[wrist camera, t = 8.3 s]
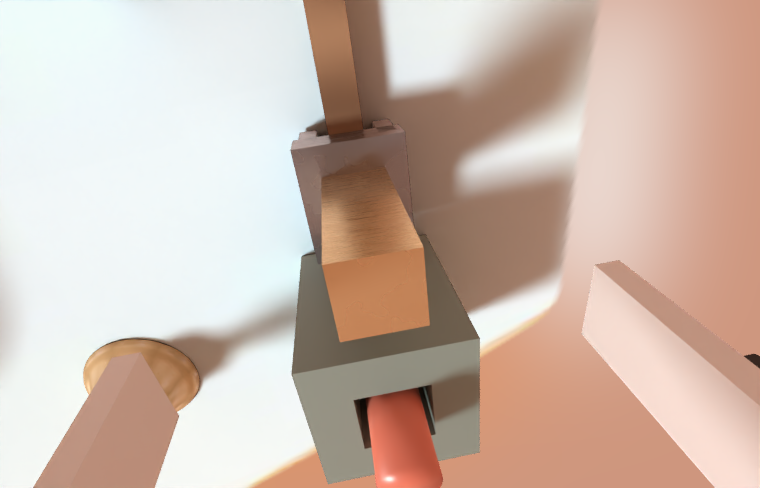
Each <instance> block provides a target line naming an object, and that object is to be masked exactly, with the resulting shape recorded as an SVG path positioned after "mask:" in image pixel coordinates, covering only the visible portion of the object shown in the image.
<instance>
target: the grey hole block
mask: <svg viewBox="0 0 760 488" xmlns="http://www.w3.org/2000/svg"><path fill="white" fill-rule="evenodd" d="M418 237H419V239H420V241H421V243H422V245H423V247H424V258H425V271H426V283H427V295H428V308H429V320H430V325H429V326H424V327H419V328H414V329H408V330H403V331H398V332H392V333H387V334H382V335H377V336H371V337H366V338H361V339H355V340H350V341H345V342H340V340H339V336H338V332H337V328H336V323H335V319H334V315H333V311H332V306H331V302H330V298H329V294H328V289H327V285H326V281H325V276H324V272H323V268H322V264H318V262H317V258H316V254H312V255H306V256H302V258H301V270H300V282H299V293H298V305H297V317H296V329H295V340H294V352H293V364H292V377H293V380H294V383H295V386H296V389H297V392H298V395H299V398H300V401H301V404H302V407H303V410H304V413H305V416H306V419H307V422H308V425H309V428H310V431H311V434H312V437H313V440H314V443H315V446H316V449H317V452H318V455H319V458H320V461H321V464H322V467H323V470H324V473H325V476H326V479H327V482H328V484H332V483H336V482H341V481H346V480H351V479H355V478H360V477H365V476H370V475H375V471H374V463H373V455H372V446H371V438H370V430H369V422H368V414H367V406H366V398H367V397H372V396H377V395H382V394H387V393H392V392H397V391H402V390H407V389H412V388H417V387H418V390H419V393H420V397H421V401H422V404H423V408H424V412H425V415H426V419H427V422H428V426H429V430H430V433H431V437H432V441H433V444H434V448H435V452H436V455H437V459H438V461H441V460H446V459H450V458H456V457H460V456H465V455H470V454H475V453H479V452H480V447H479V446H480V443H479V442H480V437H479V435H480V378H479V377H480V338H479V336H478V334H477V332H476V330H475V328H474V327H473V325H472V323H471V321H470V319H469V317H468V315H467V313H466V311H465V309H464V307H463V305H462V304H461V302H460V300H459V298H458V296H457V294H456V292H455V290H454V288H453V286H452V284H451V282H450V281H449V279H448V277H447V275H446V273H445V271H444V269H443V267H442V265H441V263H440V261H439V260H438V258H437V256H436V254H435V252H434V250H433V248H432V246H431V244H430V242H429V240H428V238H427V237H426V235H420V236H418Z"/></svg>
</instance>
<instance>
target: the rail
mask: <svg viewBox="0 0 760 488" xmlns="http://www.w3.org/2000/svg"><path fill="white" fill-rule="evenodd" d="M303 2H304V8H305V13H306V18H307V24H308V29H309V34H310V40H311V45H312V50H313V56H314V61H315V66H316V71H317V77H318V82H319V87H320V93H321V98H322V103H323V109H324V114H325V119H326V125H327V130H328V135H332V134H339V133H345V132H351V131H358V130H363V123H362V116H361V109H360V102H359V95H358V88H357V81H356V74H355V67H354V60H353V54H352V47H351V40H350V33H349V26H348V19H347V12H346V5H345V0H303Z"/></svg>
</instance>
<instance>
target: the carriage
mask: <svg viewBox="0 0 760 488" xmlns="http://www.w3.org/2000/svg"><path fill="white" fill-rule="evenodd" d="M372 125H373V128H370V129H364V130H358V131H351V132H345V133H339V134H332V135H326V136H320V137H318V136H317V131H316V130H314V131H308V132H301V133H300V134H299V139H298V140H294V141H293V142H292V146H291V154H292V158H293V162H294V167H295V171H296V175H297V179H298V183H299V187H300V192H301V196H302V200H303V204H304V208H305V212H306V217H307V221H308V225H309V229H310V233H311V237H312V242H313V246H314V250H315V254H316V258H317V262H318V264H322V268H323V272H324V276H325V281H326V285H327V289H328V294H329V298H330V302H331V306H332V311H333V315H334V319H335V323H336V328H337V332H338V336H339V340H340V342H345V341H350V340H355V339H361V338H366V337H371V336H377V335H382V334H387V333H392V332H398V331H403V330H408V329H414V328H419V327H424V326H429V325H430V320H429V308H428V295H427V283H426V271H425V258H424V247H423V245H422V243H421V241H420V239H419V237H418V234H417V232H416V230H415V228H414V225H413V214H412V203H411V192H410V181H409V171H408V160H407V149H406V138H405V131H404V130H403V129H402V128H401V127H400V125H399V124H395V125H393V124H392V123H391V122H390V120H389V119H384V120H378V121H372Z"/></svg>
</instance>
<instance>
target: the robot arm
mask: <svg viewBox="0 0 760 488" xmlns="http://www.w3.org/2000/svg"><path fill="white" fill-rule="evenodd" d="M582 335H583V336H584V337H585V338H586V339H587V340H588V342H589V343H590V344H591V345H592V346H593V347H594V349H595V350H596V351H597V352H598V353H599V354H600V356H601V357H602V358H603V359H604V360H605V361H606V362H607V364H608V365H609V366H610V367H611V368H612V369H613V371H614V372H615V373H616V374H617V375H618V376H619V377H620V379H621V380H622V381H623V382H624V383H625V384H626V386H627V387H628V388H629V389H630V390H631V391H632V392H633V394H634V395H635V396H636V397H637V398H638V399H639V400H640V402H641V403H642V404H643V405H644V406H645V408H646V409H647V410H648V411H649V412H650V413H651V414H652V416H653V417H654V418H655V419H656V420H657V421H658V422H659V423H660V425H661V426H662V427H663V428H664V429H665V431H666V432H667V433H668V434H669V435H670V436H671V438H672V439H673V440H674V441H675V442H676V443H677V444H678V446H679V447H680V448H681V449H682V450H683V451H684V453H685V454H686V455H687V456H688V457H689V458H690V459H691V461H692V462H693V463H694V464H695V465H696V466H697V467H698V469H699V470H700V471H701V472H702V473H703V474H704V476H705V477H706V478H707V479H708V480H709V481H710V482H711V484H712V485H713V486H714V487H715V488H760V356H758V355H756V354H751V355H746V356H743V355H741V354H740V353H739V352H737V351H736V350H735V349H734V348H732V347H731V346H730V345H728V344H727V343H726V342H724V341H723V340H722V339H721V338H719V337H718V336H717V335H715V334H714V333H713V332H711V331H710V330H709V329H707V328H706V327H705V326H703V325H702V324H701V323H700V322H698V321H697V320H696V319H695V318H693V317H692V316H691V315H689V314H688V313H687V312H685V311H684V310H683V309H681V308H680V307H679V306H678V305H676V304H675V303H674V302H673V301H671V300H670V299H669V298H667V297H666V296H665V295H664V294H662V293H661V292H659V291H658V290H657V289H656V288H654V287H653V286H652V285H651V284H649V283H648V282H647V281H645V280H644V279H643V278H641V277H640V276H639V275H638V274H636V273H635V272H634V271H632V270H631V269H630V268H629V267H627V266H626V265H625V264H623V263H622V262H620V261H619V260H618V261H612V262H607V263H602V264H597V265H595V266H594V271H593V276H592V282H591V287H590V292H589V298H588V303H587V308H586V314H585V319H584V324H583V329H582ZM178 418H179V415H178V413H177V412H176V410H175V409H174V407H173V405H172V404H171V402H170V400H169V399H168V397H167V395H166V394H165V392H164V390H163V389H162V387H161V385H160V384H159V382H158V380H157V379H156V377H155V375H154V374H153V372H152V370H151V369H150V367H149V365H148V364H147V362H146V360H145V359H144V357H143V355H142V354H141V352H139V353H134V354H129V355H124V356H118V357H113V358H111V360H110V362H109V363H108V365H107V367H106V368H105V370H104V372H103V373H102V375H101V376H100V378H99V380H98V381H97V383H96V385H95V386H94V388H93V390H92V391H91V393H90V395H89V396H88V398H87V400H86V401H85V403H84V405H83V406H82V408H81V410H80V411H79V413H78V414H77V416H76V418H75V419H74V421H73V423H72V424H71V426H70V428H69V429H68V431H67V433H66V434H65V436H64V438H63V439H62V441H61V443H60V444H59V446H58V447H57V449H56V451H55V452H54V454H53V456H52V457H51V459H50V461H49V462H48V464H47V466H46V467H45V469H44V471H43V472H42V474H41V476H40V477H39V479H38V481H37V482H36V484H35V485H34V487H33V488H155V485H156V482H157V479H158V476H159V473H160V470H161V467H162V464H163V462H164V459H165V456H166V453H167V450H168V447H169V444H170V441H171V438H172V435H173V432H174V429H175V427H176V424H177V421H178Z"/></svg>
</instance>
